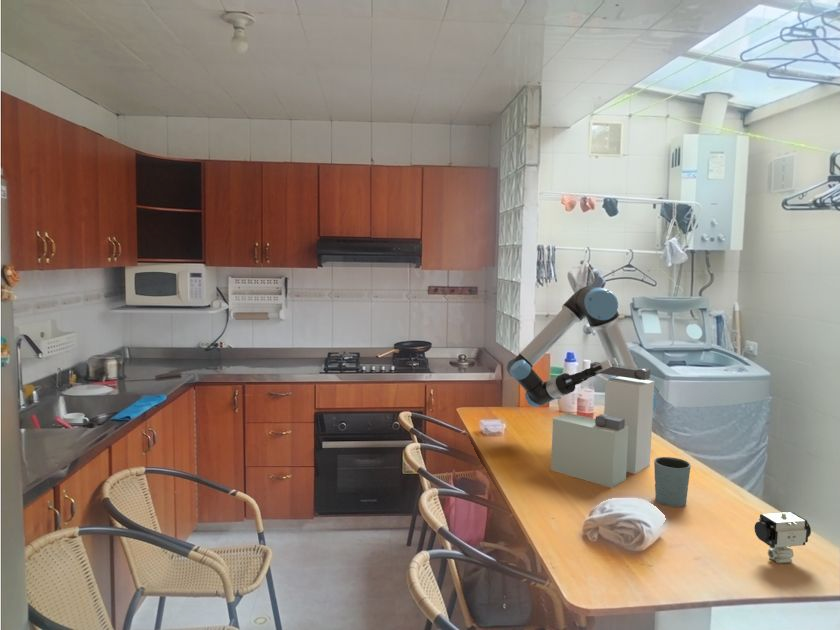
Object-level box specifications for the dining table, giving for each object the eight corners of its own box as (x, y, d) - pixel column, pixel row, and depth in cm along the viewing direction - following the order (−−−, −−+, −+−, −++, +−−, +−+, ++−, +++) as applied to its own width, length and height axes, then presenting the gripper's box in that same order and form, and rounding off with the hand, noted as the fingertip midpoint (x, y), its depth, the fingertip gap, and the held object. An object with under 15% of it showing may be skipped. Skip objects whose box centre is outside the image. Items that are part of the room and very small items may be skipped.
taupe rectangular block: (601, 464, 208) (605, 380, 205) (617, 456, 217) (621, 375, 214) (635, 474, 200) (639, 386, 197) (649, 465, 209) (654, 381, 206)
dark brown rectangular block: (589, 371, 213) (589, 362, 213) (596, 369, 217) (596, 360, 216) (644, 380, 199) (644, 370, 199) (650, 378, 203) (650, 368, 203)
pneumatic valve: (751, 557, 146) (755, 510, 145) (793, 553, 148) (797, 507, 147) (768, 568, 141) (771, 520, 139) (811, 565, 142) (815, 517, 141)
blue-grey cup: (672, 510, 172) (674, 470, 171) (644, 497, 181) (646, 459, 180) (696, 504, 177) (698, 464, 176) (667, 491, 186) (669, 454, 184)
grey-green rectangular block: (551, 469, 203) (553, 408, 201) (566, 462, 210) (568, 403, 208) (611, 488, 188) (614, 422, 186) (625, 479, 195) (629, 415, 193)
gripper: (576, 391, 230) (628, 368, 214) (553, 398, 217) (606, 375, 202) (568, 373, 232) (619, 349, 216) (544, 379, 219) (596, 355, 204)
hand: (613, 362), depth 209 cm, fingers closed on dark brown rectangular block, 4 cm apart
